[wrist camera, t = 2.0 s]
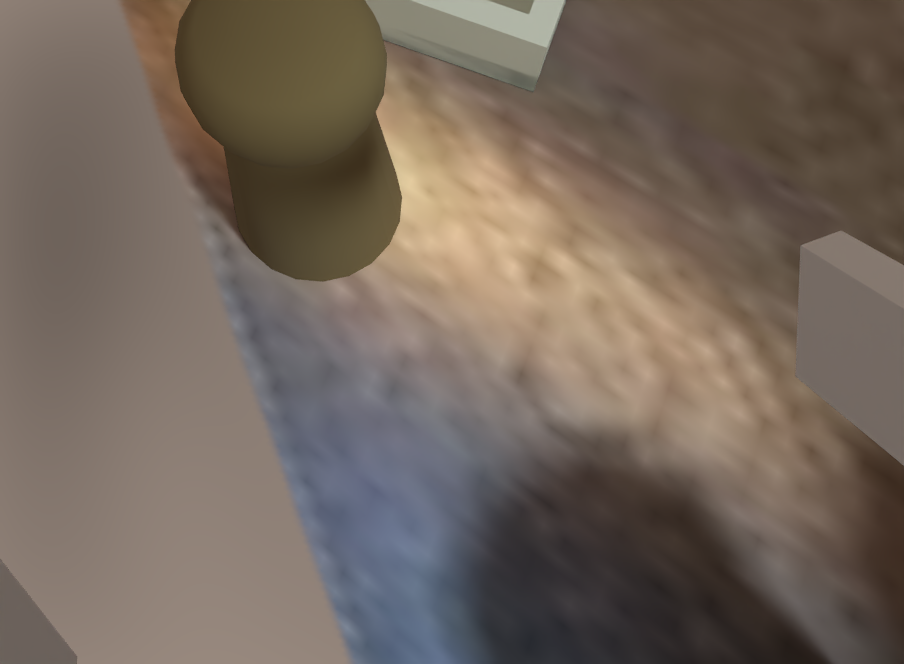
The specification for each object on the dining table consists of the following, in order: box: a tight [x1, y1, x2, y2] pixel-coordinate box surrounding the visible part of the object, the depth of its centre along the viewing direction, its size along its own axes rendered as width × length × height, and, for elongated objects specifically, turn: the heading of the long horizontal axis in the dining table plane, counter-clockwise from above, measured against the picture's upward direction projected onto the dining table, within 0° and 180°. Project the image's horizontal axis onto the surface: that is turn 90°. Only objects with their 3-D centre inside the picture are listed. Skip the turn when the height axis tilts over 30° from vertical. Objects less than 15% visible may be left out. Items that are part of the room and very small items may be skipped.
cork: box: [175, 0, 402, 281], centre depth 24 cm, size 6×6×11 cm
